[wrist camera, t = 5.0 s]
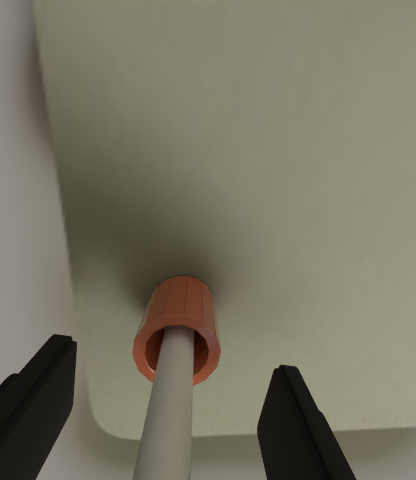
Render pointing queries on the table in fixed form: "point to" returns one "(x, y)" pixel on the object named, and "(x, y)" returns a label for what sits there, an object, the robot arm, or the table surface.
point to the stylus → (169, 411)
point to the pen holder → (179, 313)
